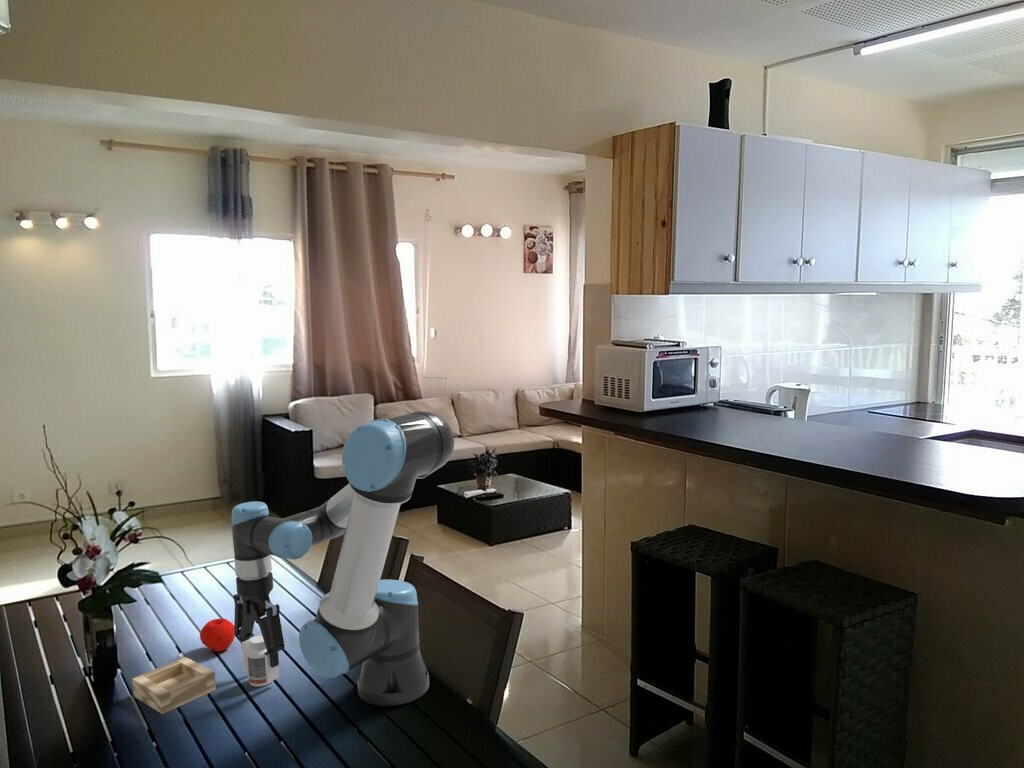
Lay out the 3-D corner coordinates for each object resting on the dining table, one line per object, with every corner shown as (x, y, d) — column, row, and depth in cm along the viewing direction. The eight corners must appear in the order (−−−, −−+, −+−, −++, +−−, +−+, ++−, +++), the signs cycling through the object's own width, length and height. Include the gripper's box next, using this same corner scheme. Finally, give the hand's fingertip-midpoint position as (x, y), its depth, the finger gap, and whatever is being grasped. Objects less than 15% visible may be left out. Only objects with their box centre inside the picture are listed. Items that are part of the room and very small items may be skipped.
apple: (194, 655, 185) (191, 625, 184) (215, 640, 192) (213, 611, 192) (222, 658, 183) (220, 628, 182) (243, 643, 190) (241, 614, 189)
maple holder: (216, 689, 168) (214, 672, 168) (162, 714, 159) (160, 695, 159) (186, 673, 176) (185, 656, 175) (133, 696, 167) (132, 678, 166)
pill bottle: (277, 682, 171) (274, 640, 170) (252, 690, 168) (249, 646, 167) (270, 672, 175) (267, 631, 174) (246, 679, 172) (242, 637, 171)
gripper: (298, 578, 165) (304, 680, 168) (242, 559, 178) (249, 654, 181) (267, 590, 159) (274, 695, 162) (211, 569, 172) (219, 667, 175)
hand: (261, 673), depth 171 cm, fingers open, 8 cm apart
